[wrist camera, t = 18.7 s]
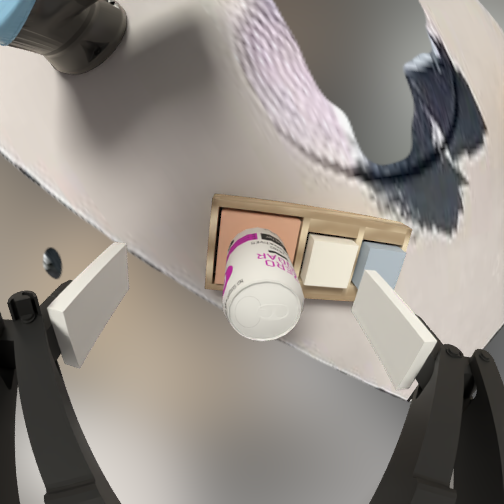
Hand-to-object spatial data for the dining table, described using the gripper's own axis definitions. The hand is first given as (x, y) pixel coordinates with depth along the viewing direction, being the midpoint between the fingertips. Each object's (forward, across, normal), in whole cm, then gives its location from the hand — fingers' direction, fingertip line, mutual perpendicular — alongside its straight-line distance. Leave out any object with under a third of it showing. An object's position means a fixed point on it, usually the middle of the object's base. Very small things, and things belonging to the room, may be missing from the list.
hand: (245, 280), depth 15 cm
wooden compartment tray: (+29, +12, -8) cm, 32 cm away
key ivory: (+27, +14, -8) cm, 31 cm away
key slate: (+27, +23, -8) cm, 36 cm away
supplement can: (+24, +3, -8) cm, 26 cm away
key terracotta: (+29, +3, -8) cm, 30 cm away
